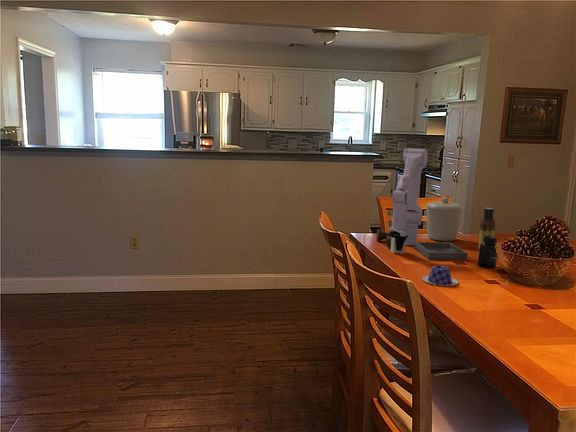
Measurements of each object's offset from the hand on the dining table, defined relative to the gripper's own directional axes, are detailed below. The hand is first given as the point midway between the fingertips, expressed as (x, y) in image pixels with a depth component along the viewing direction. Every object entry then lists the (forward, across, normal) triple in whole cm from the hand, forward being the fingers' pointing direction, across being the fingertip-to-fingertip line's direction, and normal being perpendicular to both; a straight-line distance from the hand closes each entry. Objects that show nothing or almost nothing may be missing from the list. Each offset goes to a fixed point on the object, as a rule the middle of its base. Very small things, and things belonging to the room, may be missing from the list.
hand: (397, 249), depth 196 cm
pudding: (+2, +39, +4) cm, 39 cm away
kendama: (+2, -17, 0) cm, 17 cm away
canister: (+2, -27, +30) cm, 40 cm away
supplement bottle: (+2, +20, +30) cm, 36 cm away
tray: (+1, +2, +18) cm, 18 cm away
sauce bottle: (+2, -2, +40) cm, 40 cm away
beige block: (+1, 0, 0) cm, 1 cm away
